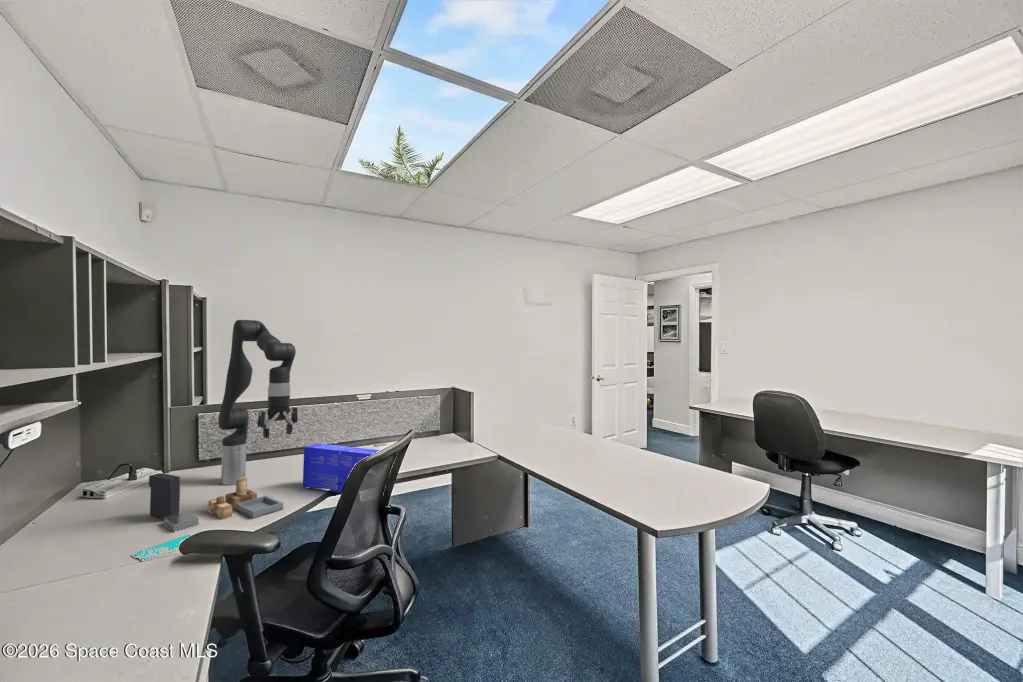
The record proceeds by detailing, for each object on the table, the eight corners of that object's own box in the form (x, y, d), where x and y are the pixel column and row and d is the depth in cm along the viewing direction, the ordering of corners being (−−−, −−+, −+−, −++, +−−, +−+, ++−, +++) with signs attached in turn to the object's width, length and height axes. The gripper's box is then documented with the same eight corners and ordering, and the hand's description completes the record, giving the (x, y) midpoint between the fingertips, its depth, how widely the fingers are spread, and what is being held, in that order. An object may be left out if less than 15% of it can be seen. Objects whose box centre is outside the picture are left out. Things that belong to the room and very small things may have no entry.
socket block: (225, 504, 167) (225, 494, 167) (247, 498, 174) (247, 488, 174) (234, 509, 163) (235, 499, 163) (256, 503, 169) (257, 493, 169)
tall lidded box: (181, 517, 155) (182, 475, 155) (168, 521, 150) (169, 479, 151) (160, 512, 158) (162, 472, 158) (147, 517, 154) (148, 475, 154)
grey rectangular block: (163, 525, 149) (164, 516, 149) (188, 519, 154) (188, 510, 154) (173, 533, 143) (173, 524, 143) (198, 526, 148) (198, 517, 148)
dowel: (233, 504, 168) (234, 478, 168) (243, 501, 171) (244, 476, 171) (238, 506, 166) (239, 480, 166) (248, 503, 169) (248, 478, 169)
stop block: (208, 511, 160) (208, 495, 161) (217, 508, 163) (217, 492, 163) (222, 519, 154) (223, 502, 154) (231, 516, 156) (232, 500, 156)
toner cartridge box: (389, 493, 184) (390, 450, 184) (377, 500, 176) (378, 455, 176) (316, 482, 196) (317, 442, 196) (301, 487, 188) (303, 446, 188)
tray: (235, 510, 162) (236, 503, 162) (265, 501, 171) (266, 495, 171) (252, 518, 155) (253, 511, 155) (283, 509, 164) (283, 502, 164)
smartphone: (131, 554, 127) (187, 534, 140) (130, 557, 127) (187, 537, 140) (143, 560, 124) (200, 539, 137) (143, 563, 124) (200, 542, 137)
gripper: (291, 391, 174) (290, 431, 174) (254, 395, 162) (253, 437, 162) (302, 393, 170) (300, 434, 170) (265, 396, 158) (264, 440, 158)
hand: (277, 435), depth 166 cm, fingers open, 8 cm apart
